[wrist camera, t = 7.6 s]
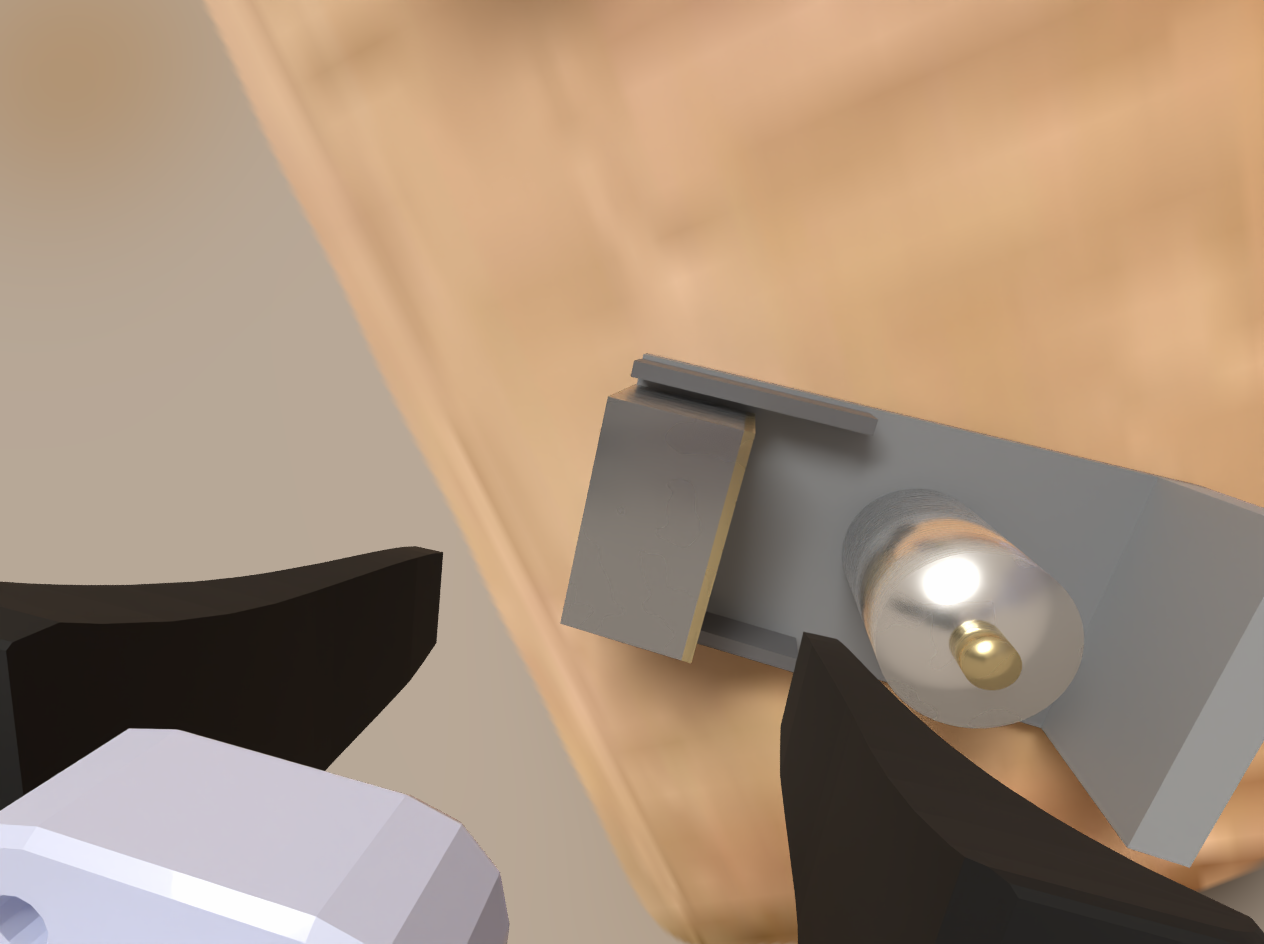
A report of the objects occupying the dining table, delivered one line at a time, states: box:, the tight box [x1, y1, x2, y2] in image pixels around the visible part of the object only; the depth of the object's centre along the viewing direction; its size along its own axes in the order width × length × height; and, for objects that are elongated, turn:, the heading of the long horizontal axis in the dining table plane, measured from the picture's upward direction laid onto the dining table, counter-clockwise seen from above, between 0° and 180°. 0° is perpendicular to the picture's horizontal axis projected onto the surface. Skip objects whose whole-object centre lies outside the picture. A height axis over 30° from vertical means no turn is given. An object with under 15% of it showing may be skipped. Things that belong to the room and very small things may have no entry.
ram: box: [560, 384, 755, 663], centre depth 19 cm, size 4×7×4 cm, turn 167°
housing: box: [842, 489, 1084, 728], centre depth 17 cm, size 4×4×7 cm
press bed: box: [631, 353, 1264, 867], centre depth 18 cm, size 18×9×6 cm, turn 77°
